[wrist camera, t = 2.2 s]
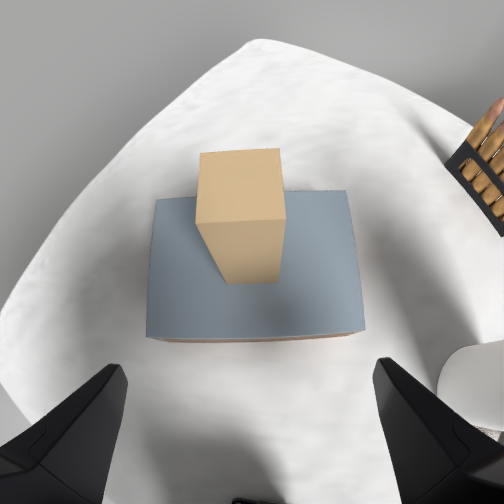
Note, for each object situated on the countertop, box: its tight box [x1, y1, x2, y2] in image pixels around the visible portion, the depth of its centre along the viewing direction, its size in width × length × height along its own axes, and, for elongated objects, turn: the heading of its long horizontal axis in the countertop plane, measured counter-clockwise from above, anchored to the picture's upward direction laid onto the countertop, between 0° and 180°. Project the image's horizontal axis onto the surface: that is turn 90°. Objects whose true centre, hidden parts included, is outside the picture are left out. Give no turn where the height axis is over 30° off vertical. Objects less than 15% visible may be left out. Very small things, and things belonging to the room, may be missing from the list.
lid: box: [146, 148, 365, 339], centre depth 16 cm, size 10×14×10 cm
